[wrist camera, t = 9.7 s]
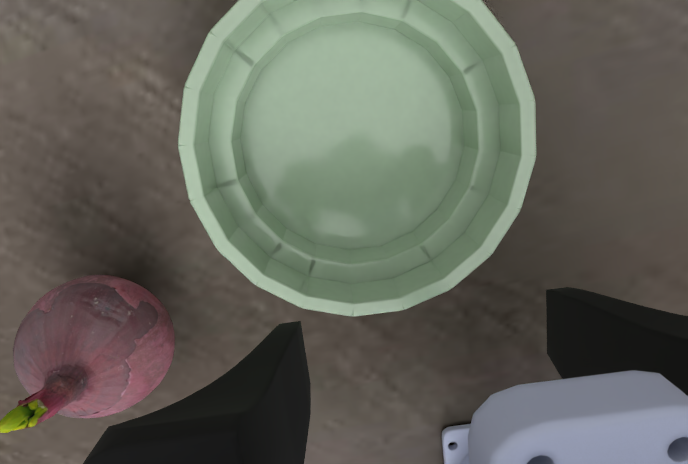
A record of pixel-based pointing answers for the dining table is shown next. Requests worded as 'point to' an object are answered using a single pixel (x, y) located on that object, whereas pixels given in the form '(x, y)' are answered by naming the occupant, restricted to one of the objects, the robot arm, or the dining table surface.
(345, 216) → the bowl
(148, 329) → the vegetable
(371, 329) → the dining table surface
